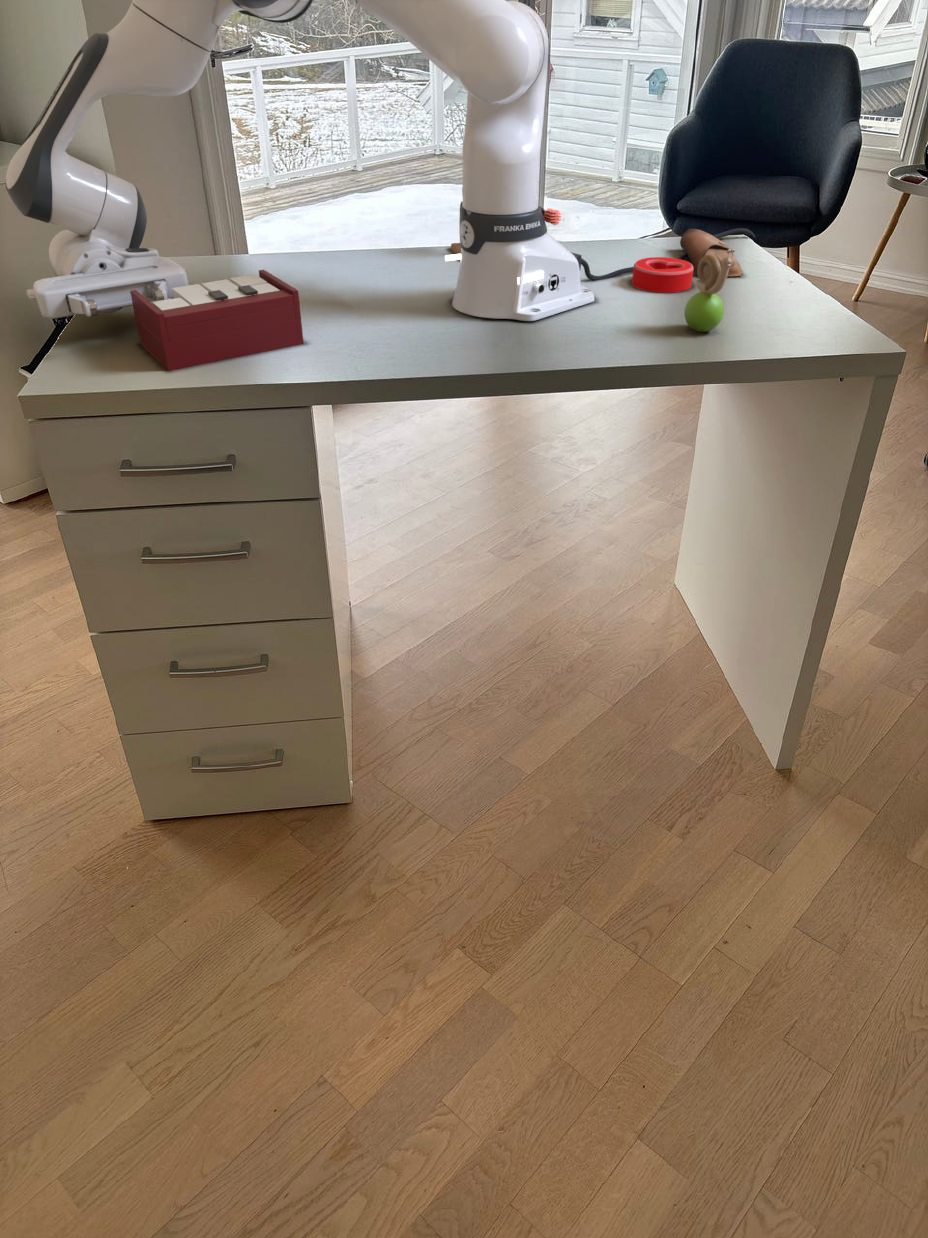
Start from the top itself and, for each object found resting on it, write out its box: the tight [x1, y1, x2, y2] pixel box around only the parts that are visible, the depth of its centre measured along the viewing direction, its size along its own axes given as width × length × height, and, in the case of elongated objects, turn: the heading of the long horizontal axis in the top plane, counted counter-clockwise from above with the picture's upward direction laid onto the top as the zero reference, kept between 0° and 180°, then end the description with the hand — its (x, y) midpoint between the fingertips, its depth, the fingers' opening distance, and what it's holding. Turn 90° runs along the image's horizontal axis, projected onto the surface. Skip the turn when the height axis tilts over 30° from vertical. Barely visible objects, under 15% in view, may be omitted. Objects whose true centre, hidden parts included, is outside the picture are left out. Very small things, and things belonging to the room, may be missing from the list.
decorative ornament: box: [631, 256, 695, 294], centre depth 152 cm, size 10×10×3 cm
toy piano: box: [130, 269, 305, 372], centre depth 127 cm, size 19×12×7 cm, turn 122°
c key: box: [229, 273, 267, 287], centre depth 131 cm, size 4×4×1 cm
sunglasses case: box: [679, 228, 744, 278], centre depth 162 cm, size 18×7×7 cm
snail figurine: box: [683, 248, 736, 333], centre depth 130 cm, size 5×6×12 cm
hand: (127, 303), depth 123 cm, fingers open, 8 cm apart
